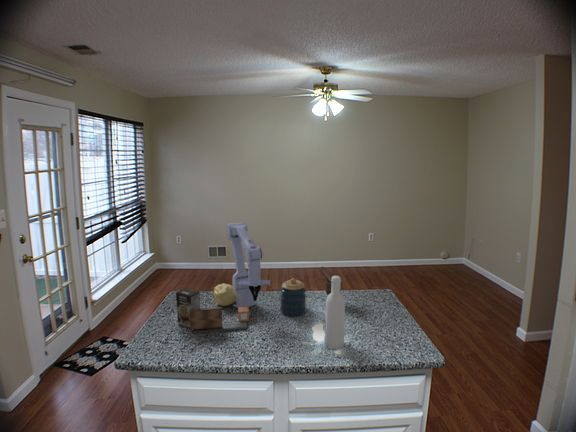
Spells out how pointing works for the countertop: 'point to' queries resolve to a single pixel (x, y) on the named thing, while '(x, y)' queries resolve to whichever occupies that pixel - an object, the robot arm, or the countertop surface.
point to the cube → (243, 313)
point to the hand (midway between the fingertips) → (255, 300)
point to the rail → (222, 328)
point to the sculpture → (224, 294)
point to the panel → (206, 318)
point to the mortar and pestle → (328, 281)
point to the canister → (293, 298)
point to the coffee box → (186, 305)
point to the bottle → (335, 316)
